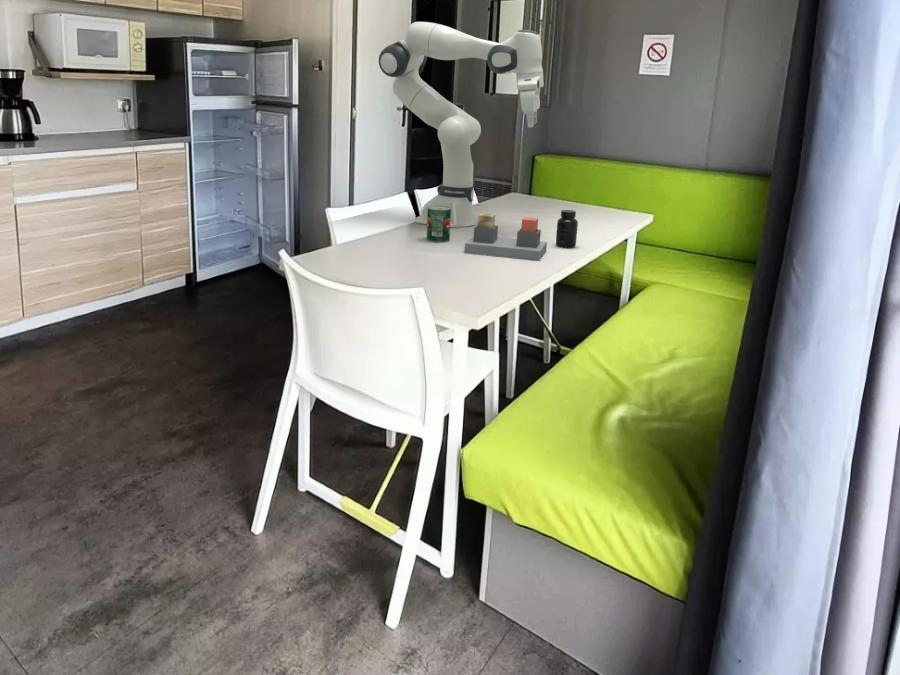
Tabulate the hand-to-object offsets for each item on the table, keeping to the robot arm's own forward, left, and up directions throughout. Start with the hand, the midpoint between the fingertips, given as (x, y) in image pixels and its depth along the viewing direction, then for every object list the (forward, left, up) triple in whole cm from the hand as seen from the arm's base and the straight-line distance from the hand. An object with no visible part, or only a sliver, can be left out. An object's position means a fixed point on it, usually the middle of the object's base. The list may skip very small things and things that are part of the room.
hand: (532, 125), depth 242 cm
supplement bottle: (+16, -10, -38) cm, 43 cm away
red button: (+6, -27, -31) cm, 42 cm away
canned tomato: (-26, -20, -38) cm, 50 cm away
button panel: (-1, -27, -38) cm, 47 cm away
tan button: (-8, -27, -31) cm, 42 cm away
